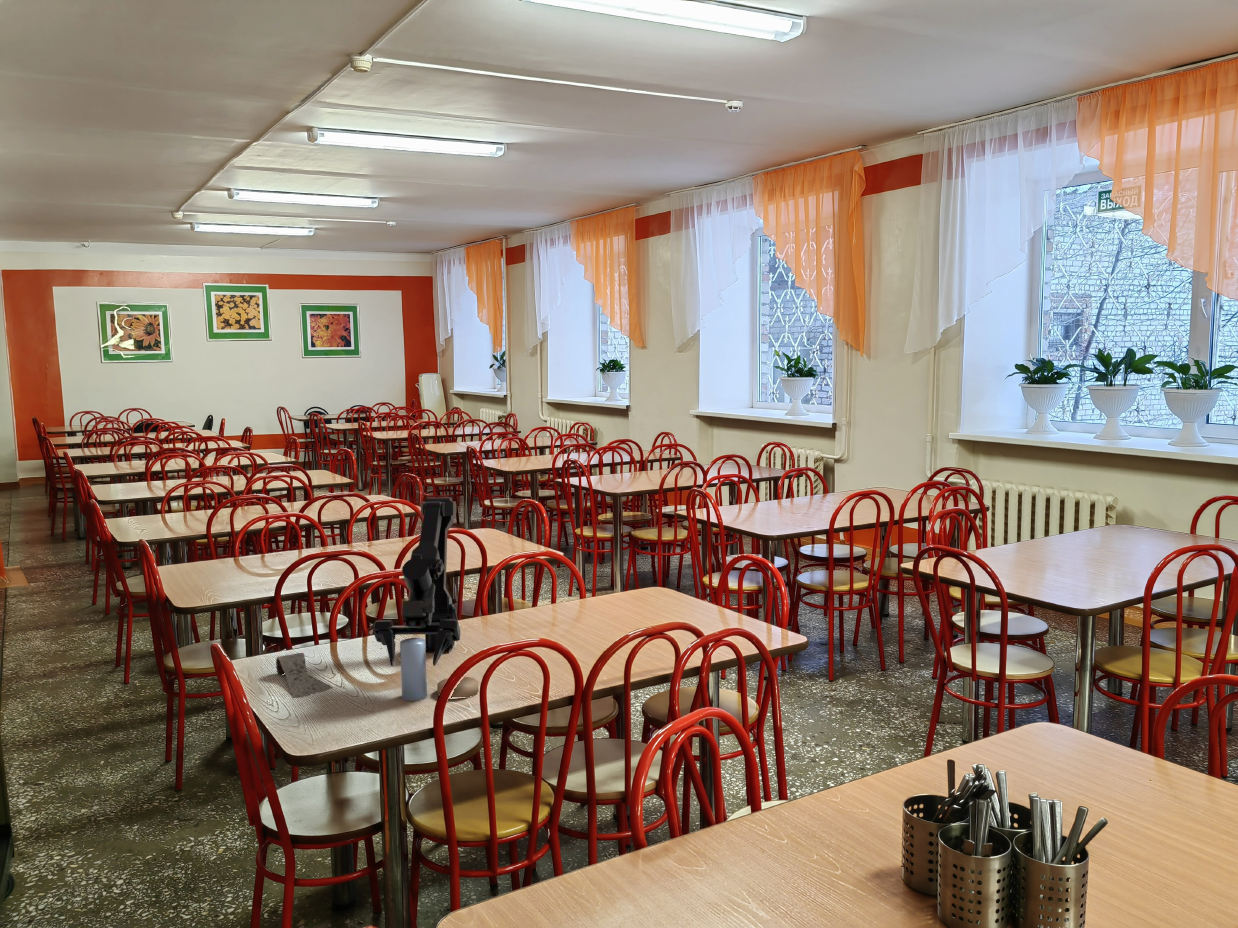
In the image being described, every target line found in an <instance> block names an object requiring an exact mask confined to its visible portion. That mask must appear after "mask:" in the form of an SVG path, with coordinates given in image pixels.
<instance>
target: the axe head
mask: <svg viewBox="0 0 1238 928" xmlns="http://www.w3.org/2000/svg"><path fill="white" fill-rule="evenodd" d="M275 667H276V668H275V669H276V673H277V676H282V677H281V678H282V679H286V683H287V685H288V690H289V692H290V695H291V698H292V699H300V698H304V697H309V696H311V694H312V695H316V694H319V693H323V692H327V691H330V690H331V689H333V686H331V685H330V684H329V683H326V682H324V681H322V680H320V679H318V678H317V677H315V676H313V675H312V674H309V673H308V668H307V664H306V658H305V653H304V652H297V653H291V654H286V655H285V654H284V655H280V656H277V657H276V659H275ZM284 673H285V676H284V675H282V674H284Z"/></svg>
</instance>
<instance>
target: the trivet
mask: <svg viewBox="0 0 1238 928" xmlns="http://www.w3.org/2000/svg"><path fill="white" fill-rule="evenodd" d="M463 677H464V678H463V679H462V680H461V681H460V683H459V684H458V685H457V687H456V688H455V689H454V692H453V694H452V696H451V698H452V697H469V698H471V697H470V696H472V697H474V696H476V695H478V693H479V680H478V679H477V678H474V677H470V676H463ZM448 678H449V677H447V678H444V679H442V680H440V681H438V682H437V684H436V688H437V689H436V690H437V696H438V695H439V694H440V693H441V690H442V688H443V687H444V684H445V683H446V681H447V680H448ZM477 692H478V693H477ZM473 695H474V696H473Z"/></svg>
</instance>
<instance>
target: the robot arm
mask: <svg viewBox="0 0 1238 928" xmlns="http://www.w3.org/2000/svg"><path fill="white" fill-rule="evenodd" d="M456 514H457V502H456V501H453V499H452V497H449V496H448V497H447V496H445V497H437V496H435V497H427V499H426V500H424V501H420V517H422V522H421V529H420V534H419V542H418V545H417V546H416V547H414V548H413V549H412V551H411V554H410V559H408V560H407V561H406V562H404V564H403V565H402V568H401V572H402V576H403V578H404V582H405V585H406V587H407V589H408V590H409V592H408V599H407V600H403V601H401V602H402V603H401V613H400V614H401V617H402V623H404V625H394V622H393V620H392V619H380V620H379V619H378V620H375V622H374V623H373V624H372V625H373V626H372V633H373V635H374V637H375V640H376V642H378V643H381V645H382V646H386V649H387V650H386V651H387V653H388V660H389V663H390V666H391V667H394V664H395V657H396V655H395V654H396V641H395V639H396V635H397V636H399V635H403V636H405V635H408V636H409V635H424V637H425V639H424V640H425V648H426V653H427V654H428V653H429V654H430V653H431V654H432V653H433V657H432V665H433V667H436V665H437V664H438V662H439V660H440V659H441V657H442V655H443V654H447V653H450V652H451V650H452V649H453V648H454V647H455V642H459V641H460V640H461V627H460V625H459V623H460V622H459V620H458V615H457V614H458V613H457V609H456V608H455V605H454V603H453V597H452V596H451V595H450V593H449V591H448V590H447V559H448V557H447V555H448V554H447V553H448V532H449V530H450V529H451V527H452V526H453V524H454V522H455V516H456Z"/></svg>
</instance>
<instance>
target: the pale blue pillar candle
mask: <svg viewBox="0 0 1238 928" xmlns="http://www.w3.org/2000/svg"><path fill="white" fill-rule="evenodd" d="M399 648H400V649H399V652H400V656H399V657H400V676H401V677H400V679H401V699H402V700H403V701H406V702H418V701H423V700H425V699H426V698H427V697H428V685H427V683H428V681H427V656H426V644H425V639H424V638H421V637H410V638H405V639H402V640H401V641H400V642H399Z"/></svg>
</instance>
